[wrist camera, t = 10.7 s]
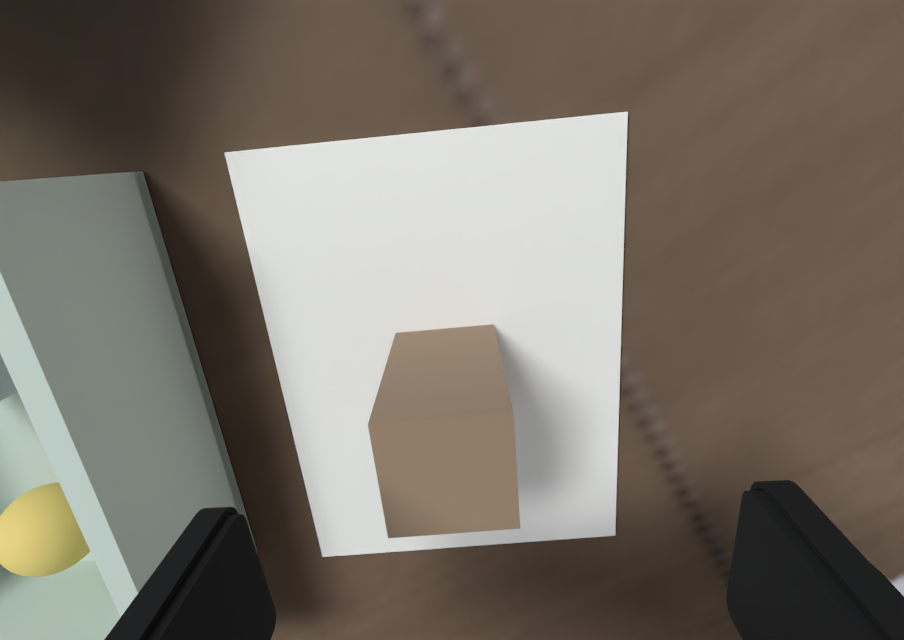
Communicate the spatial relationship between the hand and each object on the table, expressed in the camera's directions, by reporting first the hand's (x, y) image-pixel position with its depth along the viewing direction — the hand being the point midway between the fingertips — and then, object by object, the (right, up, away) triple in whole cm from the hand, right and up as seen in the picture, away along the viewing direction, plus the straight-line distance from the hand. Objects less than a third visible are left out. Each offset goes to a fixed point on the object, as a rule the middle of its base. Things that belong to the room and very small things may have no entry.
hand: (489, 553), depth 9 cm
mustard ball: (-15, -3, +10) cm, 19 cm away
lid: (-1, +3, +9) cm, 10 cm away
